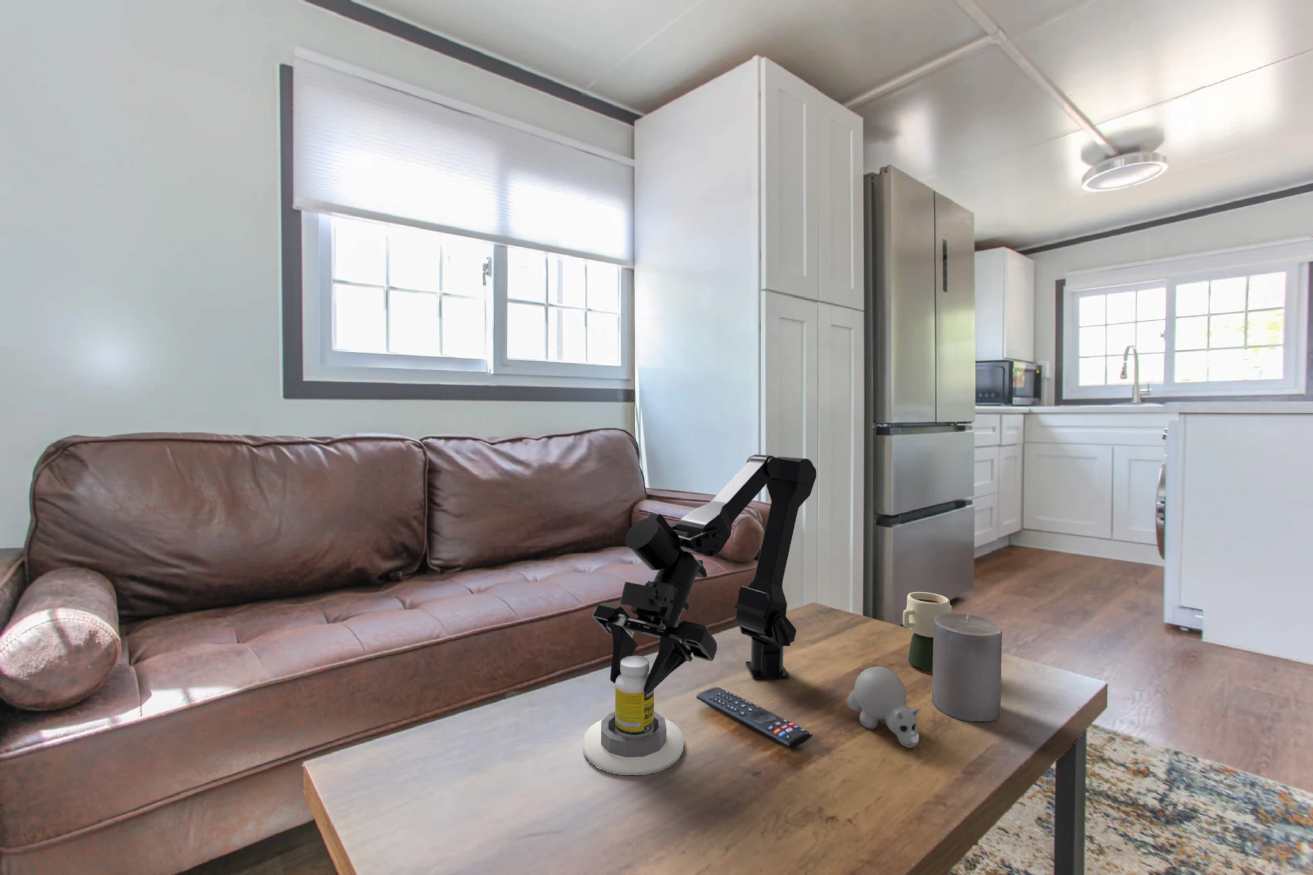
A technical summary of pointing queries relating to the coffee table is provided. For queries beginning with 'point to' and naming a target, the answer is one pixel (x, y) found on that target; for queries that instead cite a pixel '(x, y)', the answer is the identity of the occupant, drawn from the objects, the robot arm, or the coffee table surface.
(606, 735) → the socket collar
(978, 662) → the pillar candle
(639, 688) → the supplement bottle
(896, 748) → the coffee table surface
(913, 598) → the character mug
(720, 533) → the robot arm
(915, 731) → the chubby cartoon animal
